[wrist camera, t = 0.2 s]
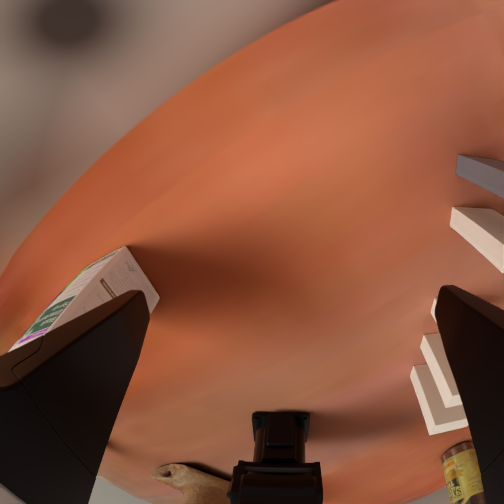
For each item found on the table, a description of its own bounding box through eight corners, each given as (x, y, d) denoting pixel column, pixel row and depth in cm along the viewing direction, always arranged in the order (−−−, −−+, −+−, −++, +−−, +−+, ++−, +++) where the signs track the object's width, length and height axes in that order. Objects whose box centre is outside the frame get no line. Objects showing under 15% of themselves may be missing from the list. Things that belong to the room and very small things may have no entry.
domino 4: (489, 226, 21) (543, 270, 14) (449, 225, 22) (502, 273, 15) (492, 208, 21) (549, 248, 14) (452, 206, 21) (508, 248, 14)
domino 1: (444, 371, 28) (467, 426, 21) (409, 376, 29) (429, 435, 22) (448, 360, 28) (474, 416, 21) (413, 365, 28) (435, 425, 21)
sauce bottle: (441, 448, 36) (465, 551, 18) (475, 435, 35) (505, 532, 17) (437, 463, 38) (456, 556, 21) (468, 451, 37) (492, 540, 19)
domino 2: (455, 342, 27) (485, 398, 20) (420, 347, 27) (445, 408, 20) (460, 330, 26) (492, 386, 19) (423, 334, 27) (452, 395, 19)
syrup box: (126, 242, 25) (18, 358, 12) (163, 298, 27) (91, 433, 14) (84, 267, 27) (-14, 371, 14) (119, 316, 29) (46, 433, 16)
